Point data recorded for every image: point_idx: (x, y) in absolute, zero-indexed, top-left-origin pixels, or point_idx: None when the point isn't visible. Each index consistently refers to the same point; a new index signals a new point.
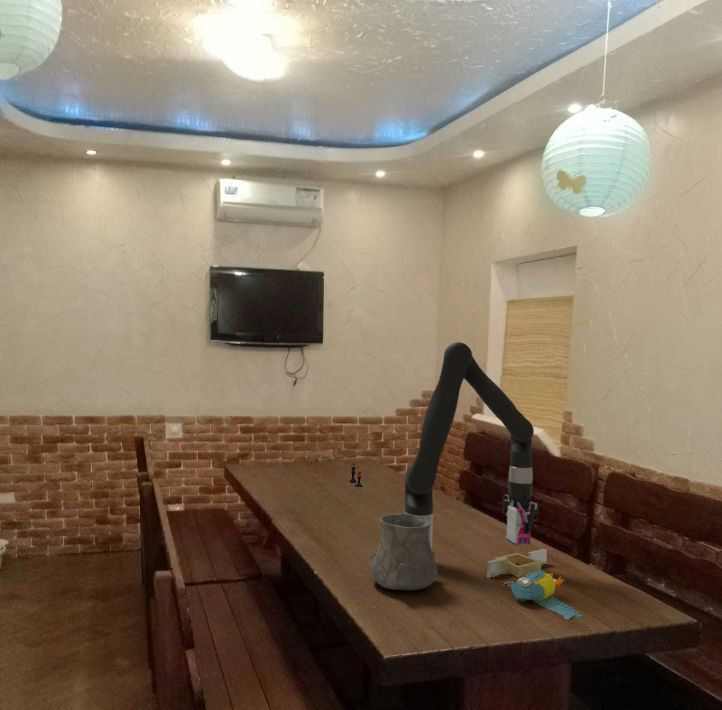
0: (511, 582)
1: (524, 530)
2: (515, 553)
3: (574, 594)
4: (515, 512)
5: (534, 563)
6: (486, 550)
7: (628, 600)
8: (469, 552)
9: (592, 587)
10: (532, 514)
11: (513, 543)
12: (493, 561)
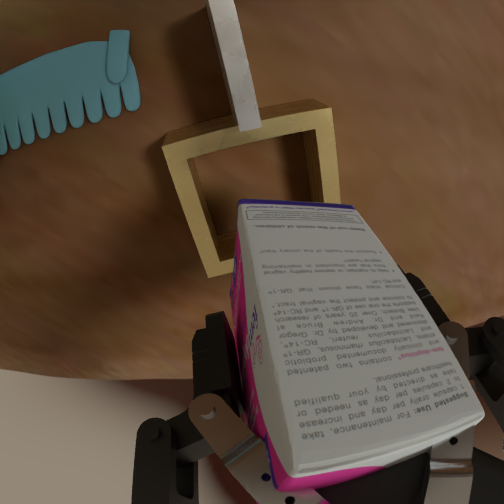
0: (107, 69)
1: (222, 327)
2: None
3: (17, 252)
4: (314, 434)
5: (198, 245)
6: (459, 192)
7: (8, 339)
8: (474, 126)
9: (72, 321)
10: (136, 492)
11: (256, 201)
12: (217, 20)
